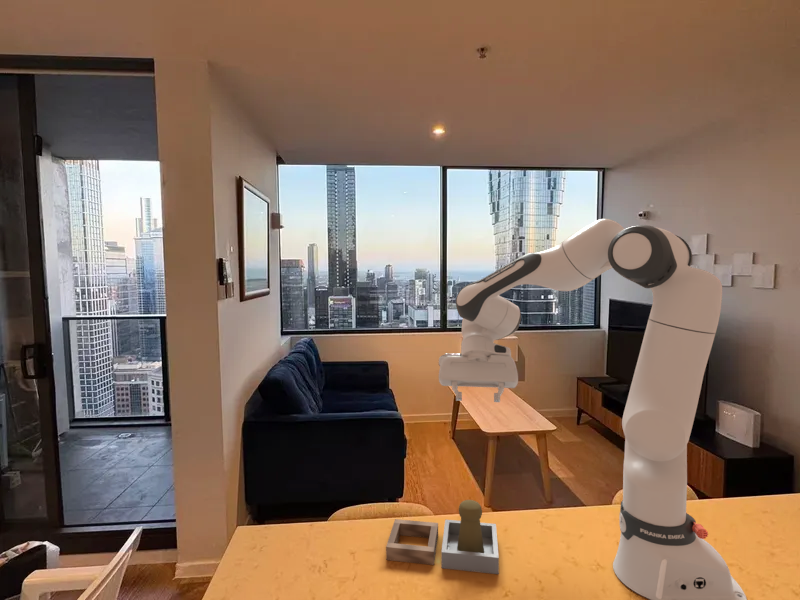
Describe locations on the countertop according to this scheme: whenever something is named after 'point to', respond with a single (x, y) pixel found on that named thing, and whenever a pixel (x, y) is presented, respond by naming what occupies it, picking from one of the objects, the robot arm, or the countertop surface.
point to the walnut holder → (412, 551)
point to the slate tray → (470, 560)
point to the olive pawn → (470, 527)
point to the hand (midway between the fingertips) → (477, 400)
